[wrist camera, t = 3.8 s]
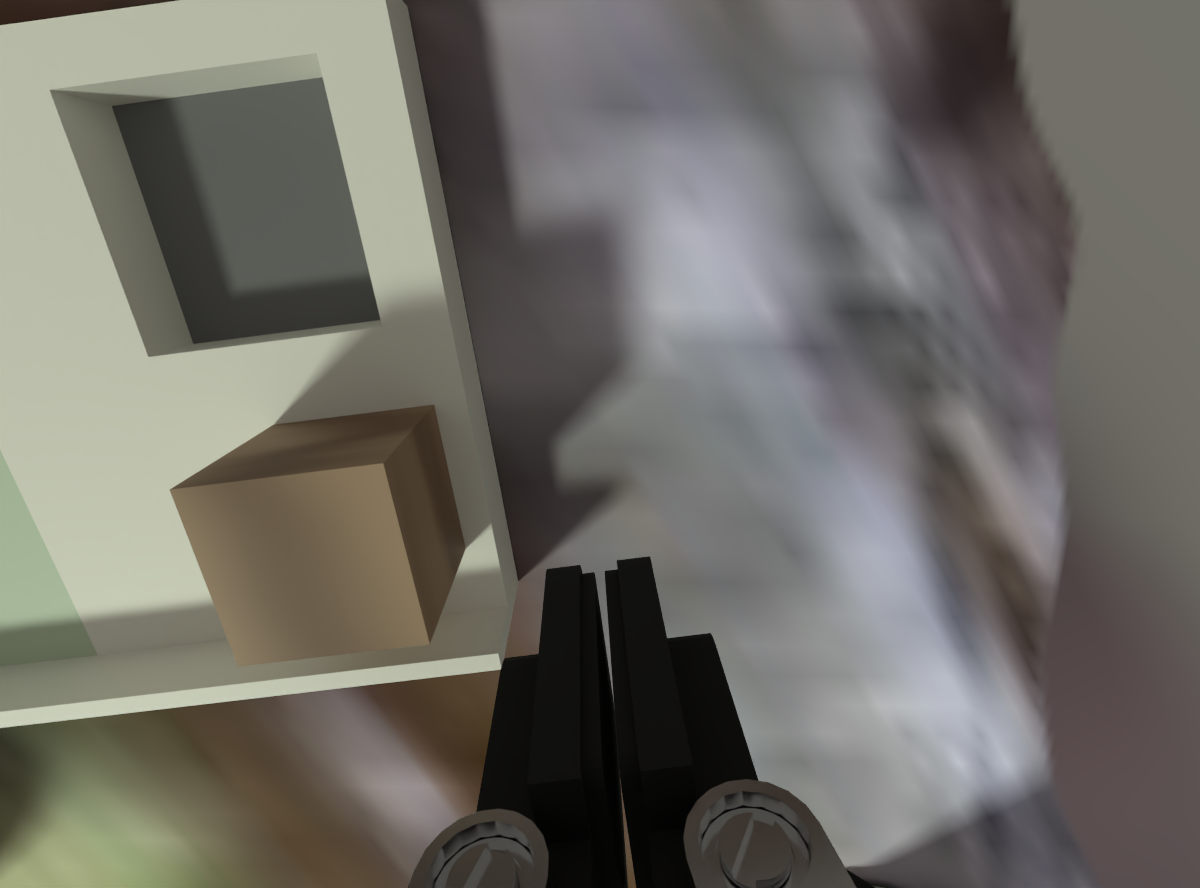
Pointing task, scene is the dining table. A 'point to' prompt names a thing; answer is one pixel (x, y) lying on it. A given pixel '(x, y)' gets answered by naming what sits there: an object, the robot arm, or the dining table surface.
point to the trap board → (213, 330)
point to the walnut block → (327, 535)
